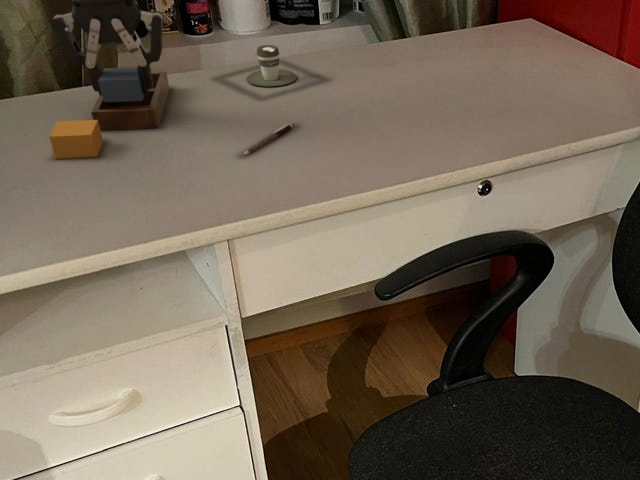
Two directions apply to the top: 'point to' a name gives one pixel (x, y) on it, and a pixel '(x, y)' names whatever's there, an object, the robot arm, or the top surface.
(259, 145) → the pen
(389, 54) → the top surface
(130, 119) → the back frame
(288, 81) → the coffee cup
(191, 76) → the top surface
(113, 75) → the pad grey
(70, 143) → the orange block
